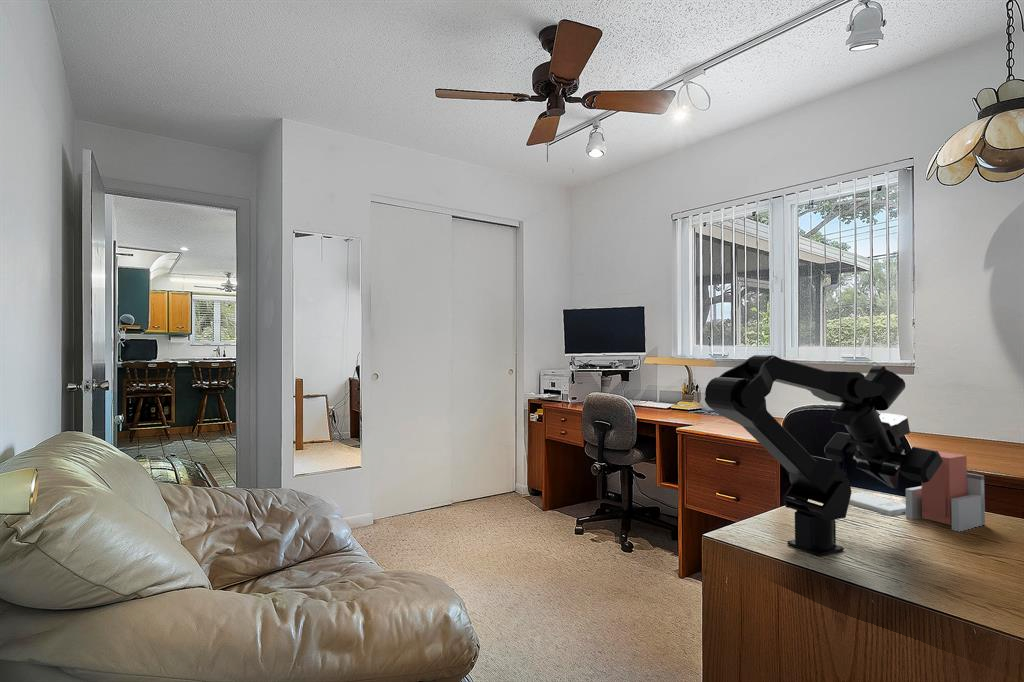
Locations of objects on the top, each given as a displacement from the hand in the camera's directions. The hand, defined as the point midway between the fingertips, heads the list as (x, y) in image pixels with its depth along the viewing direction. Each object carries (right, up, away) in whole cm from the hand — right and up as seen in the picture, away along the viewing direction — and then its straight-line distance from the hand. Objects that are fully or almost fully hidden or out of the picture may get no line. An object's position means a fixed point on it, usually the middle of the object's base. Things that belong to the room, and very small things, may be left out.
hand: (894, 486), depth 105 cm
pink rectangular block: (+13, -8, +4) cm, 16 cm away
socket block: (+13, -8, +4) cm, 16 cm away
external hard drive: (+7, -9, +16) cm, 20 cm away
